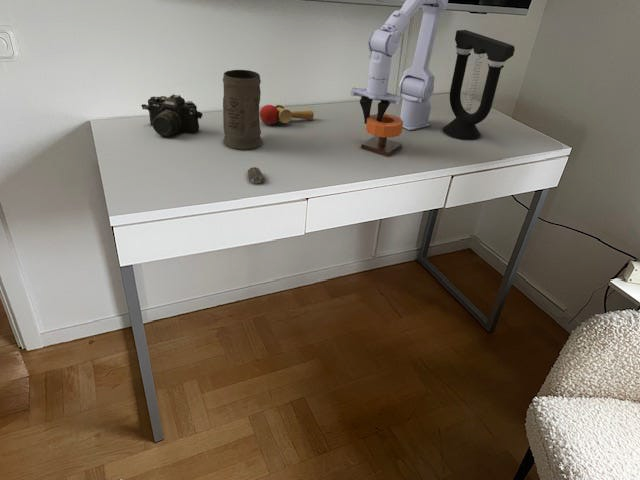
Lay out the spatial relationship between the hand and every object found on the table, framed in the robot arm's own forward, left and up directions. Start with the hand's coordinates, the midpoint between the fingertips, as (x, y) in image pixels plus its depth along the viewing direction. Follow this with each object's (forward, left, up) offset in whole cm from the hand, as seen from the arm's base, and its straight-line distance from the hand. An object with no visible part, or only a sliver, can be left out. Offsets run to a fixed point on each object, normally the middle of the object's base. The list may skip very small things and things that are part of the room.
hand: (372, 124), depth 145 cm
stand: (-2, +3, -6) cm, 8 cm away
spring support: (-35, +8, -7) cm, 36 cm away
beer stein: (+31, -20, -7) cm, 37 cm away
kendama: (+12, -27, -7) cm, 30 cm away
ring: (-2, +3, -1) cm, 4 cm away
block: (+41, +3, -7) cm, 42 cm away
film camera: (+47, -35, -7) cm, 59 cm away
